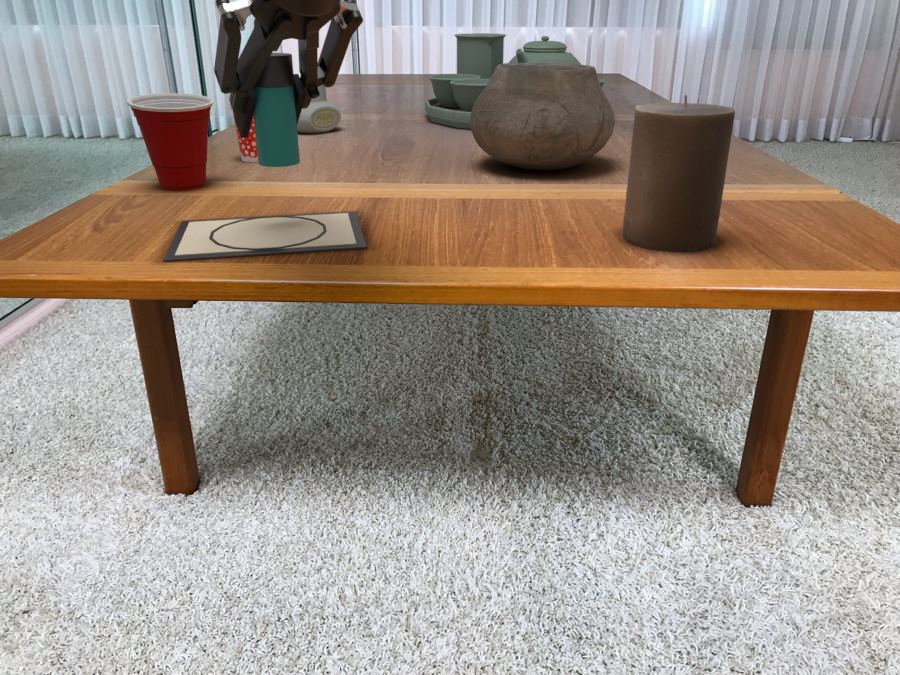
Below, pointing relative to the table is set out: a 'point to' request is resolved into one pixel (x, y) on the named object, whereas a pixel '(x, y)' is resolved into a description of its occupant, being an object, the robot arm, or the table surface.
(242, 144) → the beverage cup
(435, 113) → the tea set
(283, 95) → the dot marker
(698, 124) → the pillar candle
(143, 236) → the table surface
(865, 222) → the table surface
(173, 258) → the drawing board
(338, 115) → the air freshener
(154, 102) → the plastic cup
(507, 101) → the clay pot
